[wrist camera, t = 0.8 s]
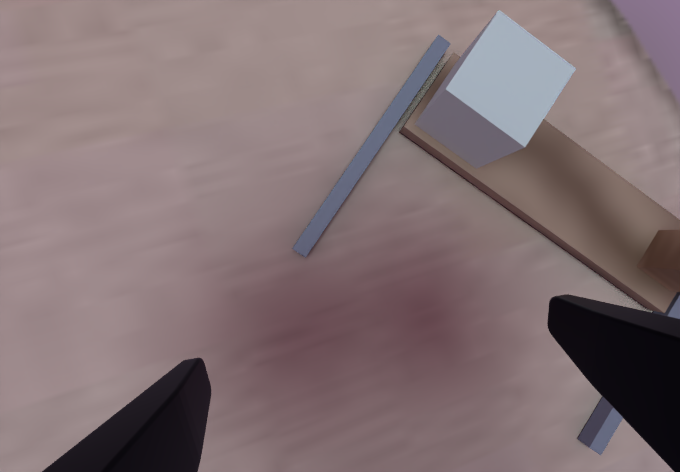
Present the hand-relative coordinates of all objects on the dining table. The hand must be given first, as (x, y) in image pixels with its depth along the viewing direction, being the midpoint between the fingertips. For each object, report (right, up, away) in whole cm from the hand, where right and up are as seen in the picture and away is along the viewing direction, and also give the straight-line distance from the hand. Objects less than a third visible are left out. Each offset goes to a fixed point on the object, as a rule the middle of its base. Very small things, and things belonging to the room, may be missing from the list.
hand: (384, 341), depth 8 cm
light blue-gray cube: (+7, +11, +13) cm, 18 cm away
